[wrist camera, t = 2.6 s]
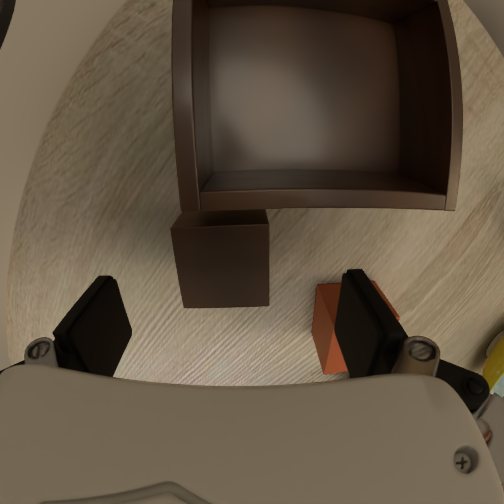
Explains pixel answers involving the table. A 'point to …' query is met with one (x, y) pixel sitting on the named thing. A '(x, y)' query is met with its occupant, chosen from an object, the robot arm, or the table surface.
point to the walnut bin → (316, 104)
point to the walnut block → (222, 258)
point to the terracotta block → (331, 327)
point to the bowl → (495, 365)
